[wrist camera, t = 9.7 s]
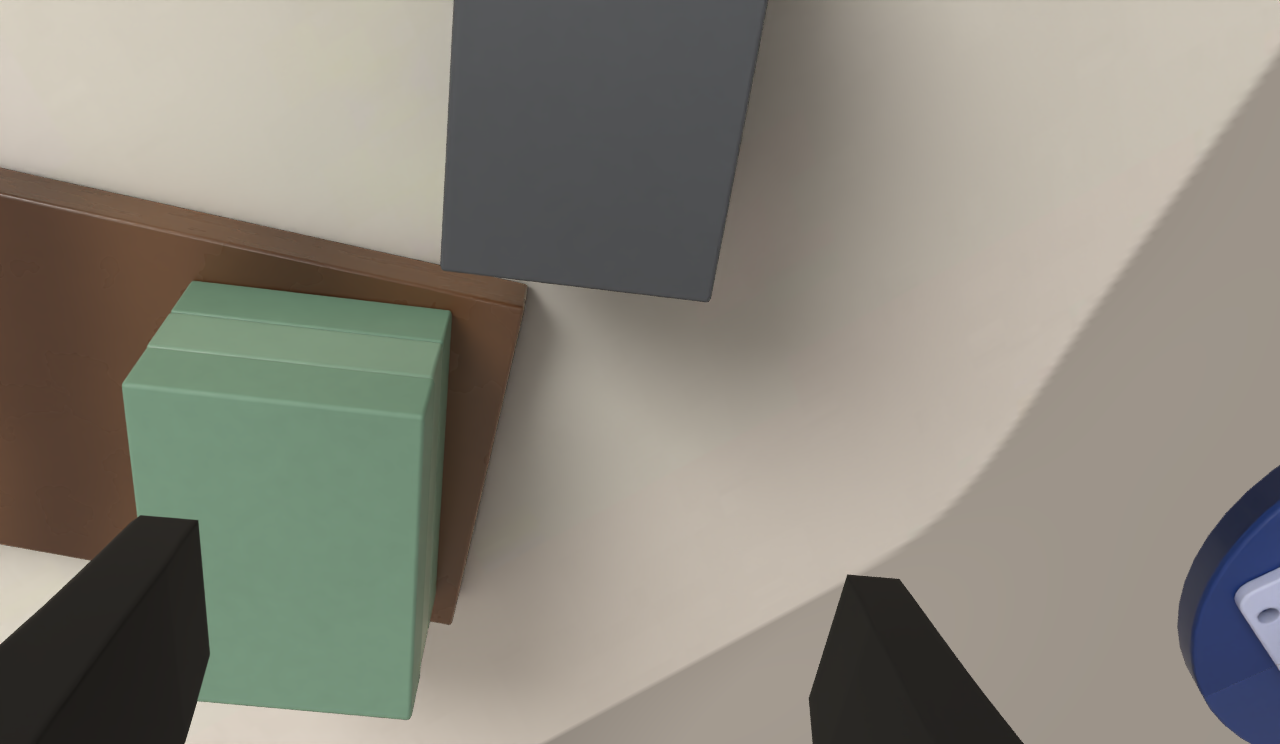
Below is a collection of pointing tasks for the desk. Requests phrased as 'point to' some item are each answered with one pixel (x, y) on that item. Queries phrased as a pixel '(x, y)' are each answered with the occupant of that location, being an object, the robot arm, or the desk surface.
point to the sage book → (294, 521)
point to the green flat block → (325, 353)
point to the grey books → (596, 140)
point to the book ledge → (134, 311)
